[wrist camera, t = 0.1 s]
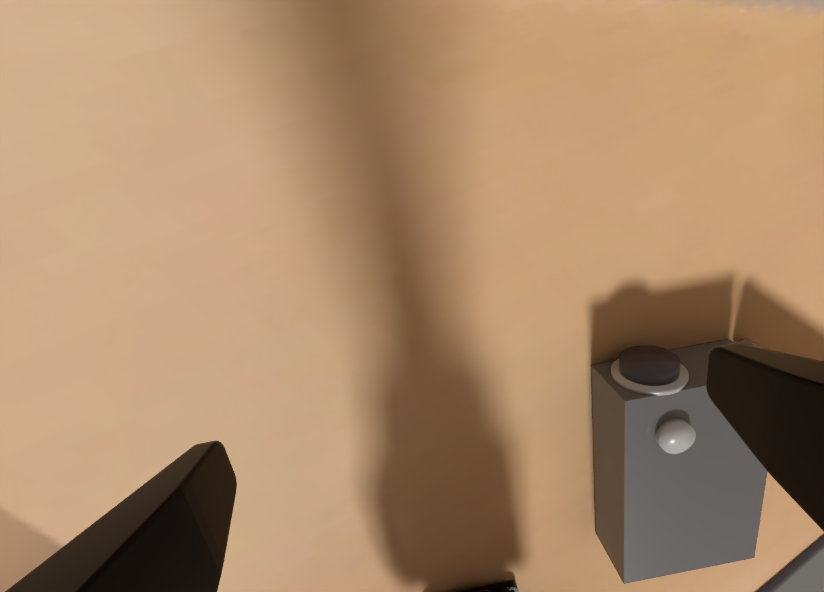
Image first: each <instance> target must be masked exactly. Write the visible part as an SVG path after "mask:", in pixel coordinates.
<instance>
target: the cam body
mask: <svg viewBox="0 0 824 592" xmlns="http://www.w3.org/2000/svg"><path fill="white" fill-rule="evenodd" d="M732 343H734V342H732V341H731V340H729V339H726V340H721V341H716V342H711V343H705V344H700V345H695V346H690V347H684V348H679V349H674V350H667V349H664V348H660V347H655V346H635V347H630V348H627V349H625V350H624V351H622V352H621V353H620V355H619V359H617V360H616V361H611V362H606V363H601V364H595V365H591V376H592V414H593V452H594V490H595V528H596V534H597V536H598V538H599V540H600V541H601V543H602V545H603V547H604V549H605V551H606V552H607V554H608V556H609V558H610V560H611V561H612V563H613V565H614V567H615V569H616V570H617V572H618V574H619V576H620V578H621V580H622V581H623V583H624V584H625V583H630V582H635V581H640V580H645V579H650V578H655V577H660V576H665V575H670V574H675V573H680V572H685V571H690V570H695V569H700V568H705V567H710V566H715V565H720V564H725V563H730V562H735V561H740V560H745V559H750V558H754V556H755V549H756V543H757V536H758V530H759V523H760V516H761V510H762V503H763V497H764V490H765V484H766V477H767V470H766V469H765V468H764V466H763V465H762V464H761V463H760V462H759V460H758V459H757V458H756V457H755V455H754V454H753V453H752V452H751V450H750V449H749V448H748V446H747V445H746V444H745V443H744V441H743V440H742V439H741V438H740V436H739V435H738V434H737V432H736V431H735V430H734V429H733V427H732V426H731V425H730V424H729V422H728V421H727V420H726V418H725V417H724V416H723V415H722V413H721V412H720V411H719V410H718V408H717V407H716V406H715V404H714V403H713V402H712V401H711V399H710V397H709V395H708V393H707V389H706V380H707V368H708V357H709V353H710V351H711V349H713V348H714V347H717V346H722V345H727V344H732Z"/></svg>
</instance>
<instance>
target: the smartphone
mask: <svg viewBox="0 0 824 592" xmlns="http://www.w3.org/2000/svg"><path fill="white" fill-rule="evenodd" d="M758 592H824V535H823V536H822V537H821V538H820V539H818V540H817V541H816V542H815V543H814V544H813V545H811V546H810V547H809V548H808V549H807V550H806V551H804V552H803V553H802V554H801V555H800V556H799V557H797V558H796V559H795V560H794V561H793V562H792V563H790V564H789V565H788V566H787V567H786V568H785V569H783V570H782V571H781V572H780V573H779V574H778V575H776V576H775V577H774V578H773V579H772V580H771V581H769V582H768V583H767V584H766V585H765V586H764V587H763V588H761V589H760V590H759V591H758Z"/></svg>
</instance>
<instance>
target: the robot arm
mask: <svg viewBox="0 0 824 592" xmlns="http://www.w3.org/2000/svg"><path fill="white" fill-rule="evenodd" d="M706 389H707V393H708V395H709V397H710V399H711V401H712V402H713V403H714V404H715V406H716V407H717V408H718V410H719V411H720V412H721V413H722V415H723V416H724V417H725V418H726V420H727V421H728V422H729V424H730V425H731V426H732V427H733V429H734V430H735V431H736V432H737V434H738V435H739V436H740V438H741V439H742V440H743V441H744V443H745V444H746V445H747V446H748V448H749V449H750V450H751V452H752V453H753V454H754V455H755V457H756V458H757V459H758V460H759V462H760V463H761V464H762V465H763V466H764V468H765V469H766V470H767V471H768V472H769V473H770V474H771V476H772V477H773V478H774V479H775V480H776V481H777V482H778V483H779V484H780V485H781V487H782V488H783V489H784V490H785V491H786V492H787V493H788V494H789V495H790V496H791V497H792V498H793V499H794V500H795V501H796V502H797V503H798V505H799V506H800V507H801V508H802V509H803V510H804V511H805V512H806V513H807V514H808V515H809V516H810V517H811V518H812V519H813V520H814V522H815V523H816V524H817V525H818V526H819V527H820V528H821V529H822V530H823V531H824V362H823V361H818V360H814V359H809V358H804V357H800V356H795V355H790V354H785V353H781V352H776V351H771V350H767V349H762V348H757V347H753V346H748V345H743V344H738V343H732V344H727V345H722V346H717V347H714V348H713V349H711V351H710V353H709V357H708V368H707V380H706ZM236 487H237V483H236V476H235V473H234V471H233V468H232V466H231V463H230V461H229V458H228V455H227V453H226V450H225V448H224V446H223V444H222V443H221V442H219V441H211V442H206V443H201V444H197V445H195V446H193V447H192V448H190V449H189V450H188V451H187V452H185V453H184V454H183V455H181V456H180V457H179V458H177V459H176V460H175V461H174V462H172V463H171V464H170V465H168V466H167V467H166V468H165V469H163V470H162V471H161V472H159V473H158V474H157V475H155V476H154V477H153V478H152V479H150V480H149V481H148V482H146V483H145V484H144V485H143V486H141V487H140V488H139V489H137V490H136V491H135V492H133V493H132V494H131V495H130V496H128V497H127V498H126V499H124V500H123V501H122V502H121V503H119V504H118V505H117V506H115V507H114V508H113V509H111V510H110V511H109V512H108V513H106V514H105V515H104V516H102V517H101V518H100V519H99V520H97V521H96V522H95V523H93V524H92V525H91V526H90V527H88V528H87V529H86V530H84V531H83V532H82V533H80V534H79V535H78V536H77V537H75V538H74V539H73V540H71V541H70V542H69V543H68V544H66V545H65V546H64V547H62V548H61V549H60V550H58V551H57V552H56V553H55V554H53V555H52V556H51V557H49V558H48V559H47V560H46V561H44V562H43V563H42V564H40V565H39V566H38V567H37V568H35V569H34V570H33V571H31V572H30V573H29V574H27V575H26V576H25V577H24V578H22V579H21V580H20V581H18V582H17V583H16V584H14V585H13V586H12V587H11V588H10V589H8V590H7V591H5V592H217V589H218V585H219V581H220V577H221V573H222V568H223V563H224V558H225V552H226V546H227V541H228V535H229V529H230V523H231V518H232V512H233V506H234V500H235V495H236ZM461 592H518V588H517V585H516V583H514V582H506V583H501V584H496V585H491V586H486V587H481V588H476V589H471V590H466V591H461Z"/></svg>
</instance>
